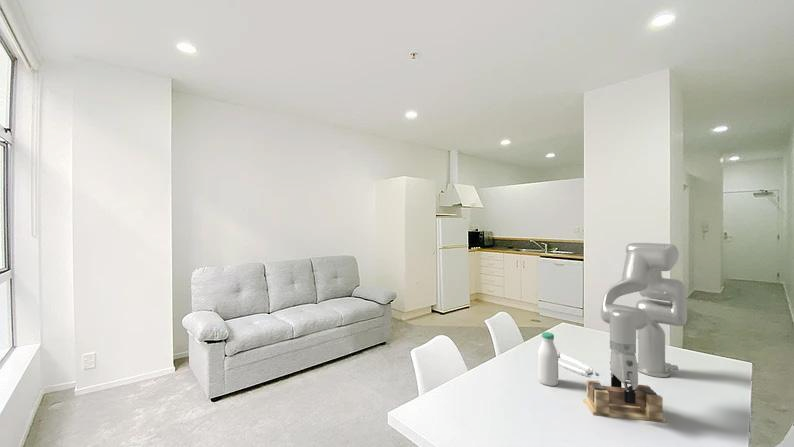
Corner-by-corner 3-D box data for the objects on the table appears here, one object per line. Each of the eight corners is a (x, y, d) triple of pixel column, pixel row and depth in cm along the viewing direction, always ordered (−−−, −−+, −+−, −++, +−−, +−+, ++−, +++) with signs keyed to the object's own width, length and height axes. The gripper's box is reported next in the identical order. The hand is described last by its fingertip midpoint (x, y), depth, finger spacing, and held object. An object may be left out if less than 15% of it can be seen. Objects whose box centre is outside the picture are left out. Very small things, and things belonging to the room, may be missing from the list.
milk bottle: (557, 388, 131) (557, 338, 131) (536, 383, 135) (536, 334, 135) (559, 380, 137) (559, 332, 137) (539, 376, 141) (539, 329, 142)
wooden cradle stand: (651, 408, 117) (651, 385, 117) (666, 422, 108) (666, 398, 108) (583, 401, 121) (583, 379, 121) (592, 414, 112) (592, 391, 113)
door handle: (555, 354, 166) (600, 375, 143) (540, 357, 163) (583, 379, 140) (555, 349, 166) (600, 369, 143) (540, 351, 163) (583, 372, 140)
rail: (652, 403, 115) (652, 388, 115) (658, 408, 111) (658, 393, 111) (589, 397, 118) (589, 382, 118) (593, 402, 115) (593, 387, 115)
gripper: (648, 357, 106) (648, 410, 106) (622, 338, 123) (622, 384, 123) (622, 355, 107) (622, 408, 107) (600, 337, 124) (600, 382, 124)
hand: (622, 395), depth 115 cm, fingers open, 9 cm apart
